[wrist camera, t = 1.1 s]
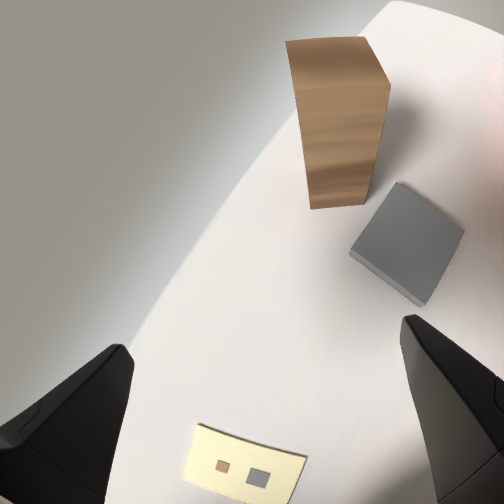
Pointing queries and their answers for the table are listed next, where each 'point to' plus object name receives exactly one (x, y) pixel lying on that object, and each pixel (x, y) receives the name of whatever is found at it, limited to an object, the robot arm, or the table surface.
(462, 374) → the robot arm
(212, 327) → the table surface
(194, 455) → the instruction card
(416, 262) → the base plate
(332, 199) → the pillar
